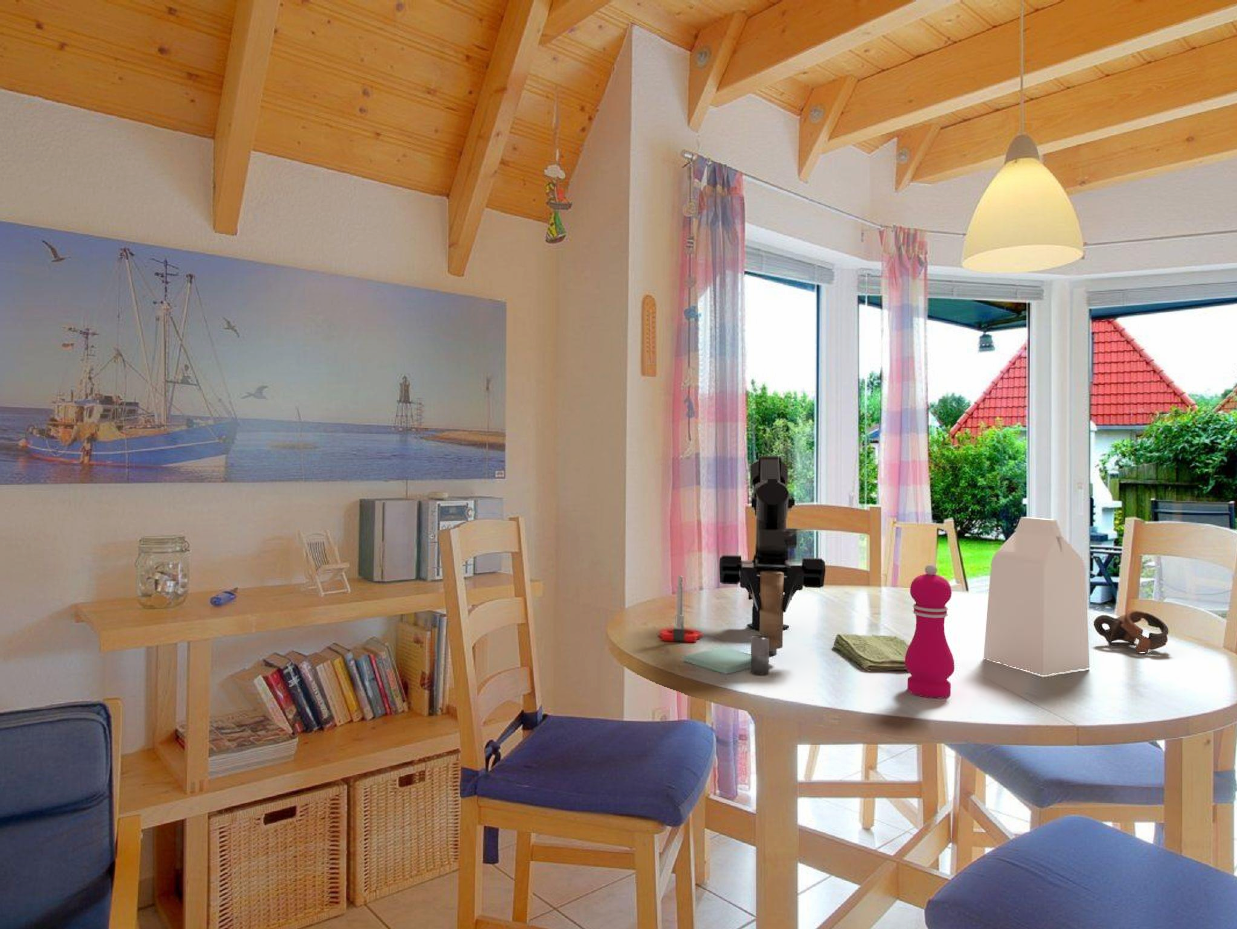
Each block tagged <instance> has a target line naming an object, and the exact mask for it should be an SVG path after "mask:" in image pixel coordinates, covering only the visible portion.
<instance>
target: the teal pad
mask: <svg viewBox="0 0 1237 929" xmlns="http://www.w3.org/2000/svg"><path fill="white" fill-rule="evenodd" d="M683 661H684V662H686V663H688V664H693V665H696V666H697V667H702V668H705V669H709V670H712V671H715V672H719V673H722V674H725V675H728V674H732V673H735V672H739V670H740V671H744V670H747V669H751V653H747V652H744V651H739V650H736V649H734V648H729V647H725V646H719V647H714V648H710V649H706V650H701V651H697V652H692V653H689V654H685V655H683Z"/></svg>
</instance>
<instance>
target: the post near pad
mask: <svg viewBox="0 0 1237 929" xmlns="http://www.w3.org/2000/svg"><path fill="white" fill-rule="evenodd" d="M750 654H751V668H750V674H751V675H755V676H767V675H769V672H770V670H769V668H770V666H769V665H770V656H769V637H767V636H762V635H760V634H759V635H758V634H757V635H755V634H754V635H752V636H750Z"/></svg>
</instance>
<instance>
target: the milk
mask: <svg viewBox="0 0 1237 929" xmlns="http://www.w3.org/2000/svg"><path fill="white" fill-rule="evenodd" d="M1086 572H1087V571H1086V565H1085V562H1084V560H1083V558H1082V557H1081V556H1080V554H1079V553H1078V552H1077V551H1076V549H1074V548H1073V547H1072V545H1071V544H1070V543H1069V542H1068V541H1067V540H1066V539H1065V538H1064V537H1063V535H1062V532H1061V530H1060V527H1059V524H1058V521H1057V519H1052V518H1051V519H1050V518H1042V517H1041V518H1040V517H1030V516H1021V517H1020V518H1019V521H1018V524H1017V526H1016V527H1015V532H1013V533H1012V534H1011V535H1010V537H1008V539H1007V540H1006V541H1004V543H1003V544H1002V545H1001V546H1000V547H999V548H998V549H997V551H996V552H995V553H994V554H993V556H992V559H991V562H990V574H989V585H988V586H989V588H988V599H987V610H986V611H987V612H986V620H985V622H986V624H985V635H984V648H983V659H984V658H985V659H989V660H991V661H995V662H1000V663H1001V664H1006V665H1008V666H1012V667H1016V668H1019V669H1023V670H1027V671H1030V672H1033V673H1037V674H1040V675H1049V674H1052V673H1059V672H1066V671H1070V670H1078V669H1086V668H1089V667H1090V651H1089V650H1090V648H1089V625H1088V622H1089V621H1088V619H1089V618H1088V601H1087V600H1088V599H1087V598H1088V597H1087V577H1086V576H1087V575H1086V574H1087V573H1086ZM985 659H984V660H985ZM991 661H990V662H991ZM1001 664H1000V665H1001ZM1008 666H1007V667H1008Z"/></svg>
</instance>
